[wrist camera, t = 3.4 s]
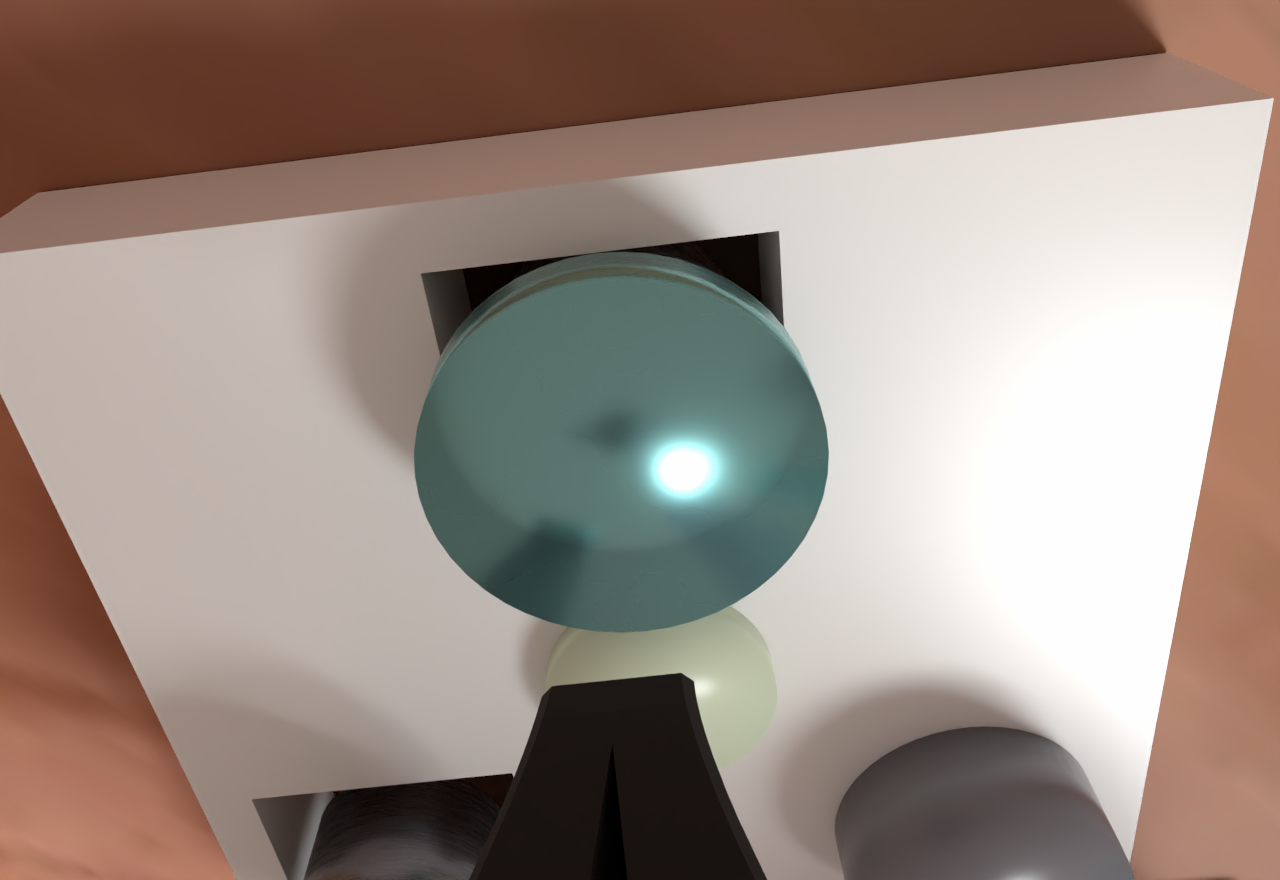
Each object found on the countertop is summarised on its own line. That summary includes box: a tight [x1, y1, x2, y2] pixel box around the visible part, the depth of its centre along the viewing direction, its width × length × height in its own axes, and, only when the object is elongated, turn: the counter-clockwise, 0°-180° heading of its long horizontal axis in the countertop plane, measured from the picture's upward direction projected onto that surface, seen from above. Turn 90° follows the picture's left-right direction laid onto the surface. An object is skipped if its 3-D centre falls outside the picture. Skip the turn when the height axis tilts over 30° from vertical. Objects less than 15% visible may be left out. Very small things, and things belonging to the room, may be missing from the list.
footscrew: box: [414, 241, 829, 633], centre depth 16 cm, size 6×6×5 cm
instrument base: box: [0, 53, 1274, 880], centre depth 19 cm, size 18×18×5 cm
